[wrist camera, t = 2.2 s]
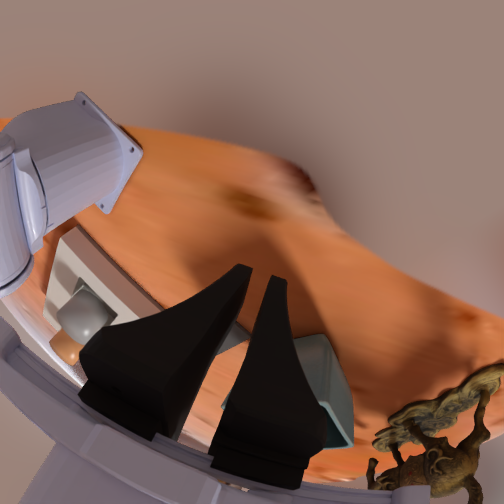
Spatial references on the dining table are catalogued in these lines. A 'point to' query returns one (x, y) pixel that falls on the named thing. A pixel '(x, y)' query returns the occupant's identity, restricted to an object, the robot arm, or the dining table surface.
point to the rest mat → (234, 337)
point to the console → (93, 281)
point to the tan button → (66, 347)
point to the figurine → (438, 440)
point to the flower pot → (327, 388)
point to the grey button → (82, 316)
